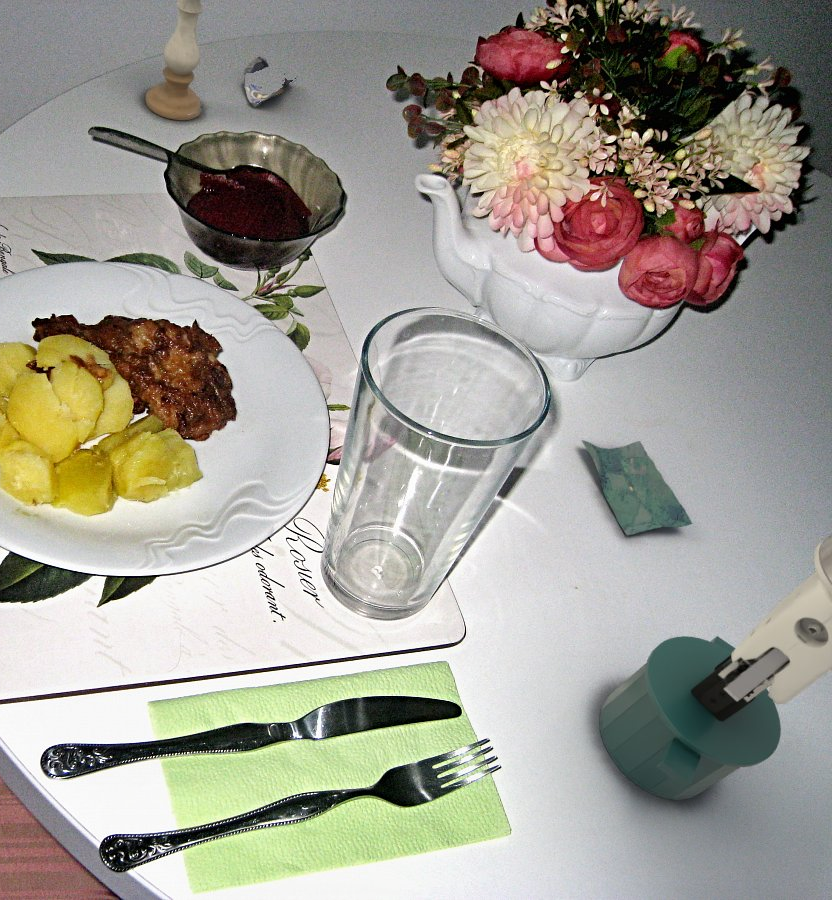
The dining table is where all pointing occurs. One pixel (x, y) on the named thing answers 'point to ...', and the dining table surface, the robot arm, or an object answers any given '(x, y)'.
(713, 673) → the robot arm
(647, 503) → the green flat curved rectangle
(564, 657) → the dining table surface
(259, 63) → the snack package
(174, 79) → the candle holder
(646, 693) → the pot
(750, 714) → the pot lid
